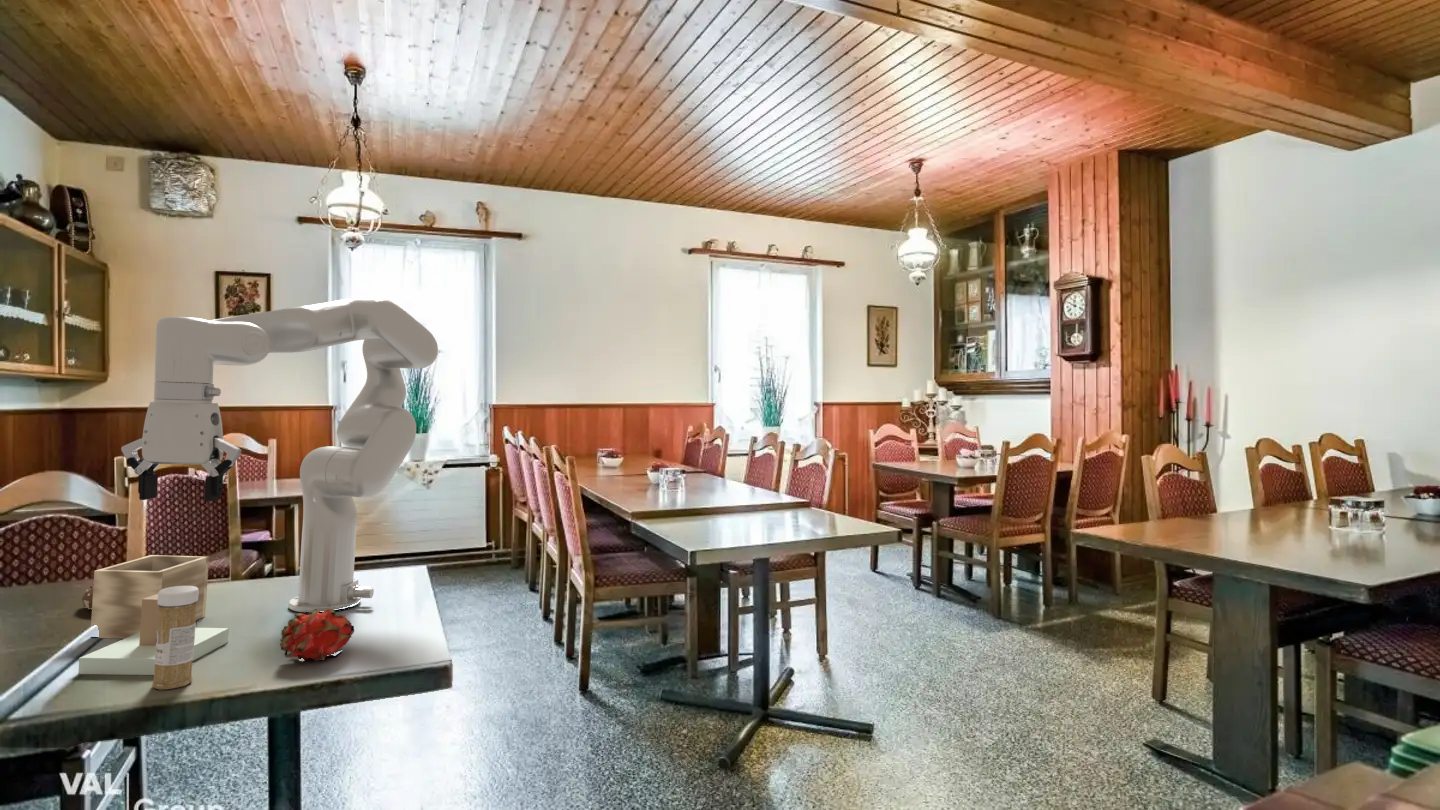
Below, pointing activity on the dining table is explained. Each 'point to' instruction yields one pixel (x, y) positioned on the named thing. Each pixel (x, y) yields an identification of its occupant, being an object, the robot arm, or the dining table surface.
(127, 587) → the pine box
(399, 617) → the dining table surface
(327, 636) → the dragon fruit
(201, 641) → the lid
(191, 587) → the sprinkles bottle
